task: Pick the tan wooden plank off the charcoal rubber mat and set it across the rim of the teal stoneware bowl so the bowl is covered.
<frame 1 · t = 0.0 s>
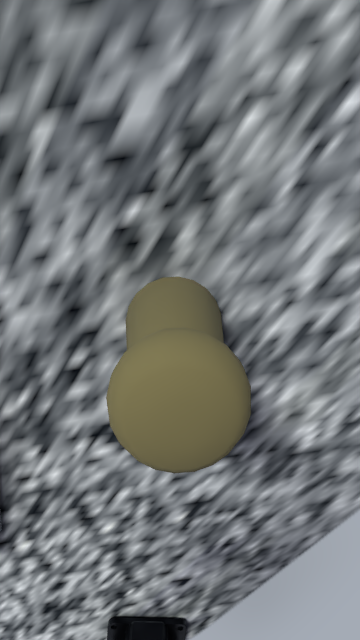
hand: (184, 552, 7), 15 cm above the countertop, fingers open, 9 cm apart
olive brown pear: (173, 323, 21), on the countertop
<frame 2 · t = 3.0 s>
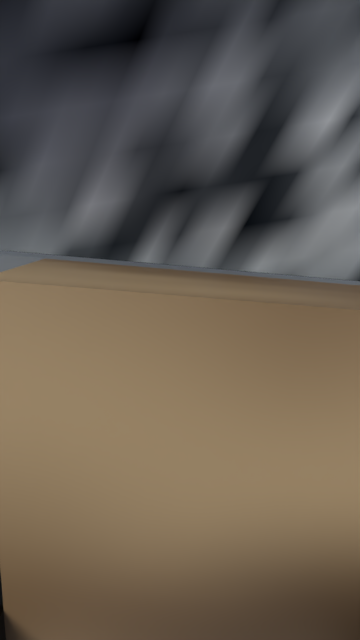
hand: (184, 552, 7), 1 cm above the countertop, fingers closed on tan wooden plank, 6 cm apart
mat: (182, 510, 8), on the countertop
tan wooden plank: (183, 531, 8), point 1 cm above the countertop, touching gripper, mat
when the fingers open (6 cm above the countertop, at t = 6.6 s): tan wooden plank stays where it is, resting on bowl.
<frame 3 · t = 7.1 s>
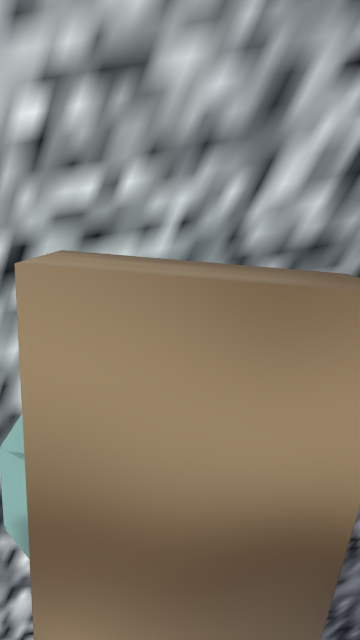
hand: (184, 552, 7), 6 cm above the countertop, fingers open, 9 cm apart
bowl: (175, 406, 13), on the countertop
tan wooden plank: (182, 495, 9), point 4 cm above the countertop, touching bowl
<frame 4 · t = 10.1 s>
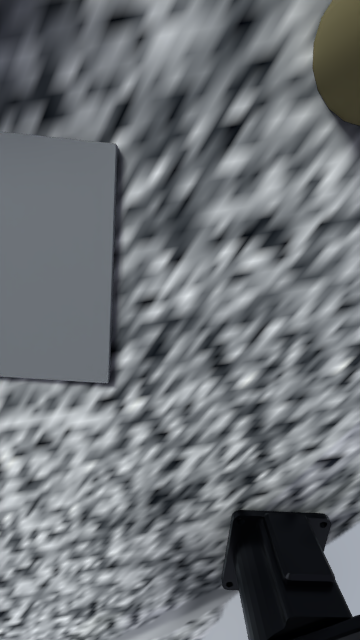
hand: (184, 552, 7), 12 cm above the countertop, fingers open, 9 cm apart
mat: (34, 267, 17), on the countertop
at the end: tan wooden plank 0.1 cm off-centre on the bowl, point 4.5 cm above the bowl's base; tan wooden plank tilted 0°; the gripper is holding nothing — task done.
